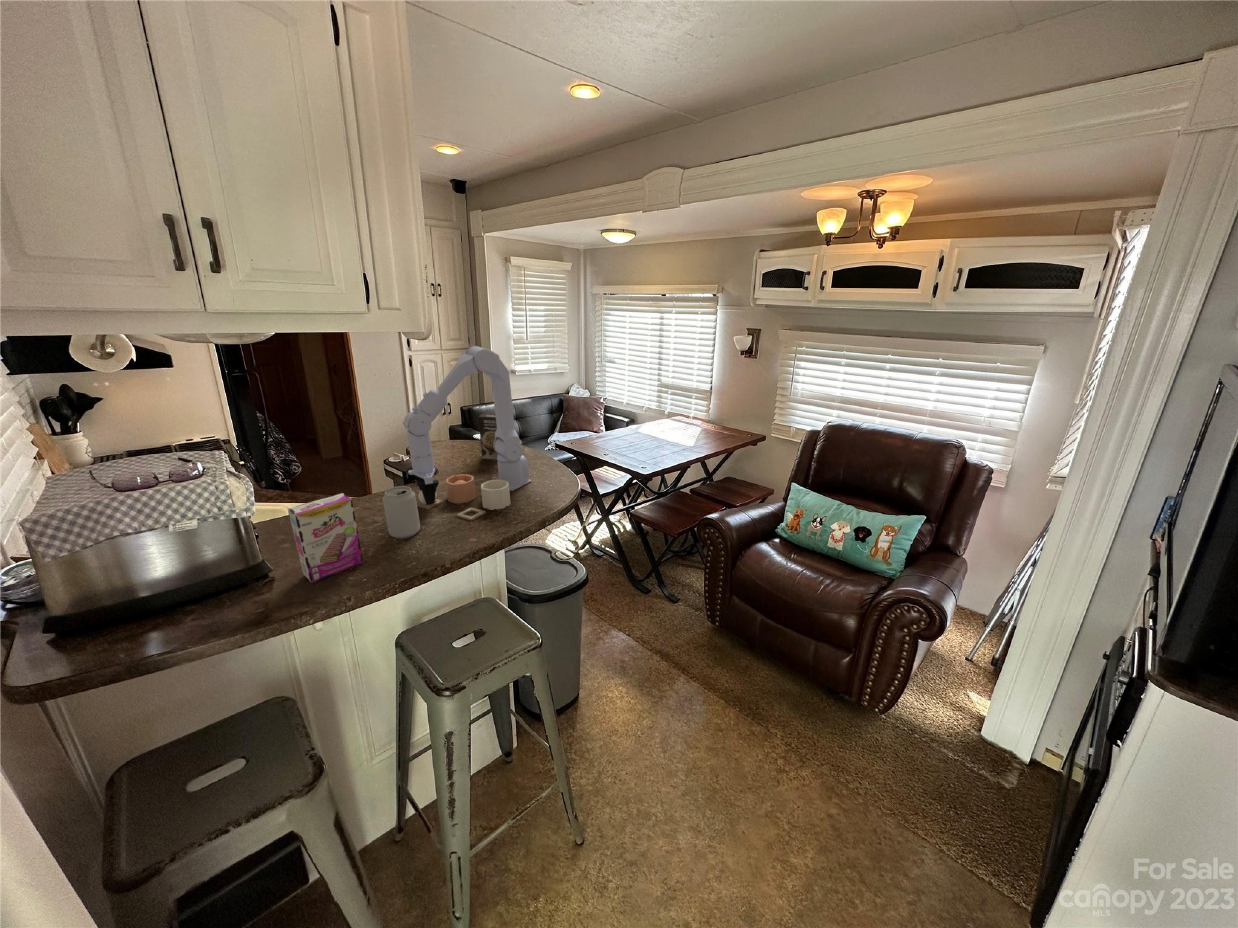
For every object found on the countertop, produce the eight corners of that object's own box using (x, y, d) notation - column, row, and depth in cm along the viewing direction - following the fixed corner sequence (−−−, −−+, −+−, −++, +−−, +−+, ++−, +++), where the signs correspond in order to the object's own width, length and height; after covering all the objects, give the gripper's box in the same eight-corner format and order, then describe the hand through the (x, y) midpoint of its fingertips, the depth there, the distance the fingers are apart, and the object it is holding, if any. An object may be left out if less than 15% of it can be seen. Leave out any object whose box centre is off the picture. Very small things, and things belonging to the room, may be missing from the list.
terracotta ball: (462, 491, 147) (460, 476, 145) (474, 494, 144) (471, 479, 143) (449, 497, 143) (447, 482, 141) (461, 500, 140) (459, 485, 138)
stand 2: (471, 509, 136) (471, 507, 136) (485, 513, 134) (485, 511, 134) (456, 516, 132) (456, 514, 132) (471, 520, 129) (470, 518, 129)
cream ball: (429, 499, 143) (427, 483, 141) (441, 502, 140) (439, 487, 139) (415, 505, 138) (413, 489, 137) (427, 509, 136) (425, 493, 134)
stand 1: (430, 498, 143) (429, 496, 143) (442, 502, 140) (442, 500, 140) (414, 505, 138) (414, 503, 138) (427, 509, 136) (427, 507, 136)
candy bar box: (312, 584, 101) (294, 515, 96) (303, 576, 104) (285, 508, 99) (365, 562, 110) (352, 497, 104) (356, 555, 113) (342, 491, 107)
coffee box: (481, 459, 176) (477, 416, 171) (488, 453, 182) (484, 412, 177) (504, 460, 175) (501, 417, 169) (511, 454, 181) (508, 413, 175)
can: (409, 541, 119) (402, 497, 115) (382, 538, 120) (374, 494, 116) (426, 527, 126) (420, 485, 122) (401, 524, 127) (394, 483, 123)
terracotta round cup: (462, 490, 149) (460, 472, 146) (481, 495, 145) (479, 477, 143) (442, 499, 142) (440, 481, 140) (461, 505, 139) (459, 486, 137)
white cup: (496, 496, 145) (494, 477, 143) (515, 501, 141) (514, 483, 139) (477, 505, 138) (475, 486, 136) (497, 511, 135) (495, 492, 133)
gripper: (402, 449, 138) (409, 492, 143) (410, 464, 126) (417, 511, 131) (428, 445, 141) (434, 488, 146) (438, 460, 130) (444, 505, 134)
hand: (428, 498), depth 139 cm, fingers open, 7 cm apart
